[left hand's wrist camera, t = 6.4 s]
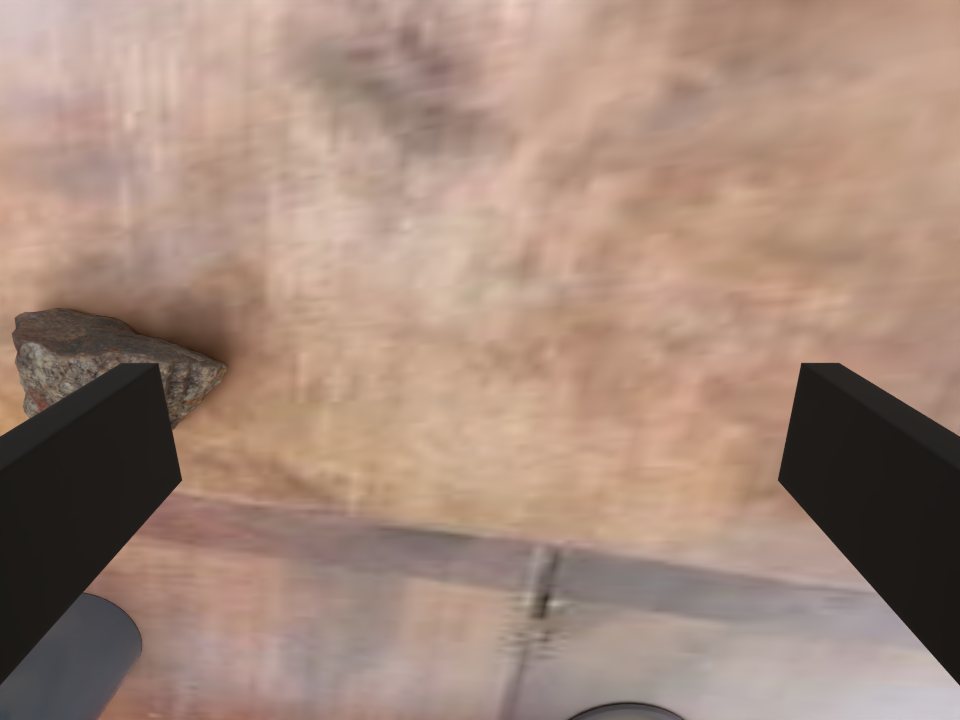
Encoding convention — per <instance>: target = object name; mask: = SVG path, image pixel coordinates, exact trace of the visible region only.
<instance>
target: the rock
mask: <svg viewBox="0 0 960 720" xmlns="http://www.w3.org/2000/svg"><path fill="white" fill-rule="evenodd" d="M15 323H16V329H15V331H14V332H13V333H12V337H13V341H14V345H15V348H16V350H17V356H16V360H15V364H16V366H17V369H18V371H19V376H20V383H21V385H22V387H23V389H24V391H25V393H26V395H25V399H24V402H23V407H24V412H25V413H26V414H27V415H28V417H29V418H32V417H33V416H35V415H37V414H38V413H40V412H42V411H43V410H45V409H46V408H48V407H50V406H51V405H53V404H55V403H56V402H58V401H60V400H61V399H63V398H64V397H66V396H68V395H69V394H71V393H73V392H74V391H76V390H78V389H79V388H81V387H82V386H84V385H86V384H87V383H89V382H91V381H92V380H94V379H96V378H97V377H99V376H101V375H102V374H104V373H105V372H107V371H109V370H110V369H112V368H114V367H115V366H117V365H119V364H120V363H159V368H160V373H161V378H162V383H163V388H164V393H165V398H166V403H167V408H168V413H169V418H170V423H171V428H172V430H173V429H175V428H176V426H177V424H178V423H179V422H180V421H181V420H183V419H184V418H185V417H186V415H187V414H188V413H189V412H190V411H191V410H193V409H195V408H196V407H197V406H198V405H199V404H200V403H201V402H202V401H203V399H204V397H205V396H206V395H207V394H208V393H209V392H210V391H211V390H212V389H213V388H214V387H215V386H217V385H218V384H219V383H220V382H221V380H222V377H223V375H224V373H225V372H226V370H227V367H228V366H227V365H226V363H224V362H221V361H217V360H214V359H212V358H209V357H207V356H205V355H204V354H202V353H199V352H195V351H192V350H189V349H188V348H185V347H183V346H180V345H177V344H173V343H169V342H167V341H165V340H163V339H160V338H152V337H147V336H145V335H137V334H135V333H134V332H133V331H132V330H131V328H130V327H129V326H128V325H126V324H124V323H123V322H121V321H119V320H118V319H116V318H110V317H104V316H97V315H92V314H85V313H79V312H78V311H76V310H68V309H60V308H55V309H50V310H45V311H39V312H25V313H22V314H20V315H18V316H17V317H15Z"/></svg>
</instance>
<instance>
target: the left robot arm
mask: <svg viewBox="0 0 960 720" xmlns="http://www.w3.org/2000/svg"><path fill="white" fill-rule="evenodd" d="M181 481H182V478H181V473H180V468H179V463H178V458H177V453H176V448H175V443H174V438H173V433H172V428H171V423H170V418H169V413H168V408H167V403H166V398H165V393H164V388H163V383H162V378H161V373H160V368H159V363H120V364H119V365H117V366H115V367H114V368H112V369H110V370H109V371H107V372H105V373H104V374H102V375H101V376H99V377H97V378H96V379H94V380H92V381H91V382H89V383H87V384H86V385H84V386H82V387H81V388H79V389H78V390H76V391H74V392H73V393H71V394H69V395H68V396H66V397H64V398H63V399H61V400H60V401H58V402H56V403H55V404H53V405H51V406H50V407H48V408H46V409H45V410H43V411H42V412H40V413H38V414H37V415H35V416H33V417H32V418H30V419H28V420H27V421H25V422H23V423H22V424H20V425H19V426H17V427H15V428H14V429H12V430H10V431H9V432H7V433H5V434H4V435H2V436H1V437H0V685H1V684H2V683H3V682H4V681H5V680H6V678H7V677H8V676H9V675H10V674H11V673H12V672H13V671H14V669H15V668H16V667H17V666H18V665H19V664H20V663H21V662H22V660H23V659H24V658H25V657H26V656H27V655H28V654H29V652H30V651H31V650H32V649H33V648H34V647H35V646H36V645H37V643H38V642H39V641H40V640H41V639H42V638H43V637H44V636H45V634H46V633H47V632H48V631H49V630H50V629H51V628H52V627H53V625H54V624H55V623H56V622H57V621H58V620H59V619H60V618H61V616H62V615H63V614H64V613H65V612H66V611H67V610H68V608H69V607H70V606H71V605H72V604H73V603H74V602H75V601H76V599H77V598H78V597H79V596H80V595H81V594H82V593H83V592H84V590H85V589H86V588H87V587H88V586H89V585H90V584H91V583H92V581H93V580H94V579H95V578H96V577H97V576H98V575H99V573H100V572H101V571H102V570H103V569H104V568H105V567H106V566H107V564H108V563H109V562H110V561H111V560H112V559H113V558H114V557H115V555H116V554H117V553H118V552H119V551H120V550H121V549H122V548H123V546H124V545H125V544H126V543H127V542H128V541H129V540H130V538H131V537H132V536H133V535H134V534H135V533H136V532H137V531H138V529H139V528H140V527H141V526H142V525H143V524H144V523H145V522H146V520H147V519H148V518H149V517H150V516H151V515H152V514H153V513H154V511H155V510H156V509H157V508H158V507H159V506H160V505H161V504H162V502H163V501H164V500H165V499H166V498H167V497H168V496H169V494H170V493H171V492H172V491H173V490H174V489H175V488H176V487H177V485H178V484H179V483H180V482H181ZM778 481H779V482H780V483H781V484H782V485H783V487H784V488H785V489H786V490H787V491H788V492H789V493H790V494H791V496H792V497H793V498H794V499H795V500H796V501H797V502H798V504H799V505H800V506H801V507H802V508H803V509H804V510H805V511H806V513H807V514H808V515H809V516H810V517H811V518H812V519H813V520H814V522H815V523H816V524H817V525H818V526H819V527H820V528H821V529H822V531H823V532H824V533H825V534H826V535H827V536H828V537H829V538H830V540H831V541H832V542H833V543H834V544H835V545H836V546H837V548H838V549H839V550H840V551H841V552H842V553H843V554H844V555H845V557H846V558H847V559H848V560H849V561H850V562H851V563H852V564H853V566H854V567H855V568H856V569H857V570H858V571H859V572H860V573H861V575H862V576H863V577H864V578H865V579H866V580H867V581H868V583H869V584H870V585H871V586H872V587H873V588H874V589H875V590H876V592H877V593H878V594H879V595H880V596H881V597H882V598H883V599H884V601H885V602H886V603H887V604H888V605H889V606H890V607H891V608H892V610H893V611H894V612H895V613H896V614H897V615H898V616H899V618H900V619H901V620H902V621H903V622H904V623H905V624H906V625H907V627H908V628H909V629H910V630H911V631H912V632H913V633H914V634H915V636H916V637H917V638H918V639H919V640H920V641H921V642H922V643H923V645H924V646H925V647H926V648H927V649H928V650H929V651H930V652H931V654H932V655H933V656H934V657H935V658H936V659H937V660H938V662H939V663H940V664H941V665H942V666H943V667H944V668H945V669H946V671H947V672H948V673H949V674H950V675H951V676H952V677H953V678H954V680H955V681H956V682H957V683H958V684H959V685H960V437H959V436H958V435H956V434H955V433H953V432H951V431H950V430H948V429H946V428H945V427H943V426H941V425H940V424H938V423H937V422H935V421H933V420H932V419H930V418H928V417H927V416H925V415H923V414H922V413H920V412H918V411H917V410H915V409H914V408H912V407H910V406H909V405H907V404H905V403H904V402H902V401H900V400H899V399H897V398H896V397H894V396H892V395H891V394H889V393H887V392H886V391H884V390H882V389H881V388H879V387H878V386H876V385H874V384H873V383H871V382H869V381H868V380H866V379H864V378H863V377H861V376H859V375H858V374H856V373H855V372H853V371H851V370H850V369H848V368H846V367H845V366H843V365H841V364H840V363H801V368H800V373H799V378H798V383H797V388H796V393H795V398H794V403H793V408H792V413H791V418H790V423H789V428H788V433H787V438H786V443H785V448H784V453H783V458H782V463H781V468H780V473H779V478H778ZM572 720H683V719H681V718H680V717H678V716H676V715H674V714H672V713H670V712H668V711H665V710H663V709H659V708H656V707H652V706H646V705H638V704H620V705H611V706H606V707H601V708H598V709H594V710H591V711H588V712H586V713H584V714H581V715H579V716H577V717H575V718H574V719H572Z"/></svg>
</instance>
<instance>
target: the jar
mask: <svg viewBox="0 0 960 720" xmlns="http://www.w3.org/2000/svg"><path fill="white" fill-rule="evenodd" d="M141 650H142V641H141V636H140V633H139V631H138V629H137V627H136V625H135V623H134V622H133V621H132V620H131V618H130V617H129V616H128V615H127V614H126V613H125V612H124V611H122V610H121V609H120V608H119V607H117V606H116V605H114V604H112V603H111V602H109V601H107V600H105V599H102V598H100V597H97V596H94V595H90V594H85V593H82V594H81V595H80V596H79V597H78V598H77V599H76V601H75V602H74V603H73V604H72V605H71V606H70V607H69V608H68V610H67V611H66V612H65V613H64V614H63V615H62V616H61V618H60V619H59V620H58V621H57V622H56V623H55V624H54V625H53V627H52V628H51V629H50V630H49V631H48V632H47V633H46V634H45V636H44V637H43V638H42V639H41V640H40V641H39V642H38V643H37V645H36V646H35V647H34V648H33V649H32V650H31V651H30V652H29V654H28V655H27V656H26V657H25V658H24V659H23V660H22V662H21V663H20V664H19V665H18V666H17V667H16V668H15V669H14V671H13V672H12V673H11V674H10V675H9V676H8V677H7V678H6V680H5V681H4V682H3V683H2V684H1V685H0V720H99V719H100V717H101V716H102V714H103V713H104V711H105V710H106V708H107V707H108V705H109V704H110V702H111V701H112V699H113V698H114V696H115V695H116V693H117V692H118V690H119V689H120V687H121V686H122V684H123V683H124V681H125V680H126V678H127V677H128V675H129V674H130V672H131V671H132V669H133V667H134V666H135V664H136V663H137V661H138V659H139V657H140V654H141Z"/></svg>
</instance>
